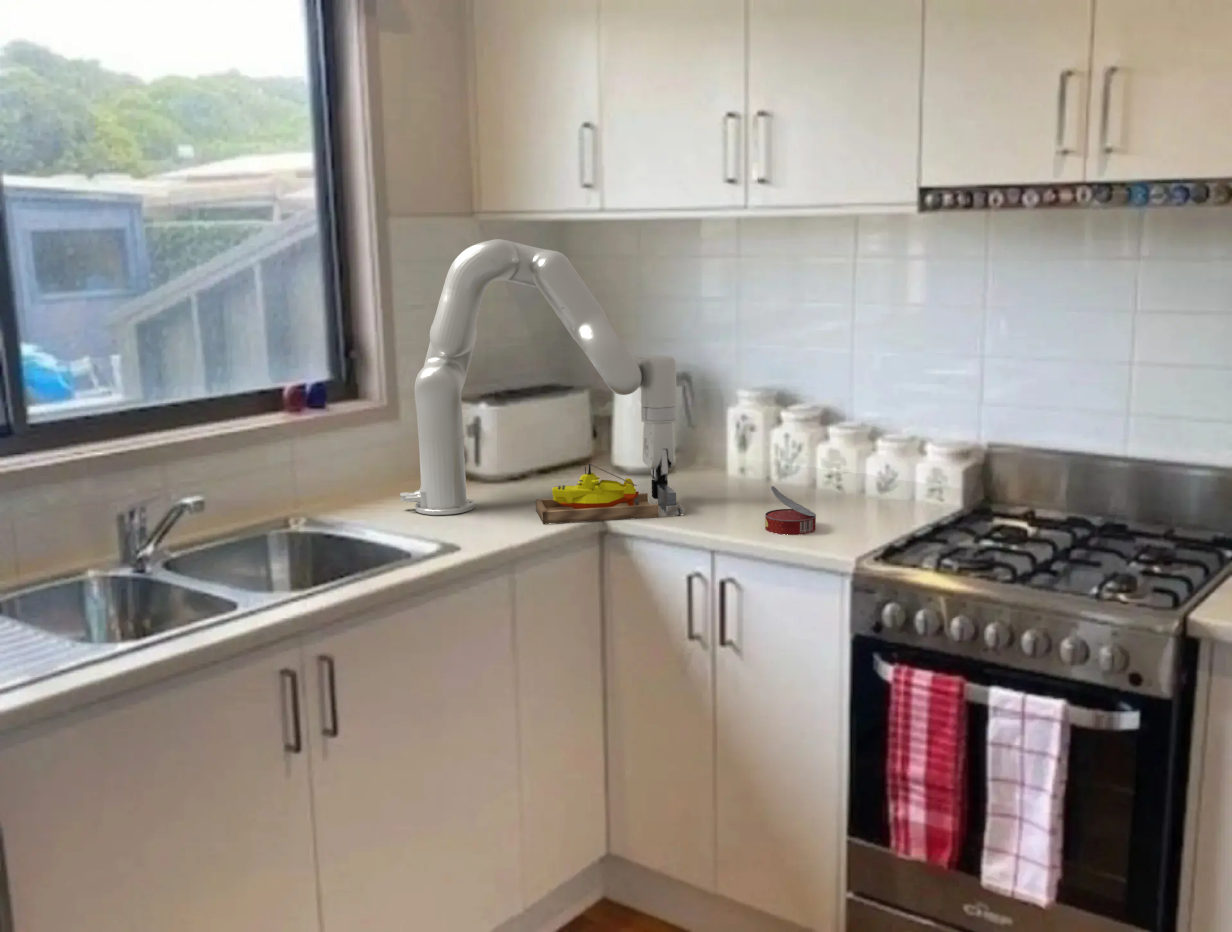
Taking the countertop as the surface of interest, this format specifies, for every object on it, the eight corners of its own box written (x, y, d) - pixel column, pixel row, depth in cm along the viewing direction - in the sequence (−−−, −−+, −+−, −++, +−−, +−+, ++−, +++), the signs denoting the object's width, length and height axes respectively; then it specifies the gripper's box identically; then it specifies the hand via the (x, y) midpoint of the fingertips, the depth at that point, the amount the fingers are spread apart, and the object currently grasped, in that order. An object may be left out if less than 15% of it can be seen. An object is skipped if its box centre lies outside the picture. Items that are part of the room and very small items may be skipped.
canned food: (780, 545, 243) (791, 498, 245) (822, 548, 236) (832, 499, 238) (747, 529, 236) (758, 480, 238) (788, 531, 228) (799, 481, 231)
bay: (543, 524, 245) (542, 512, 244) (531, 502, 265) (531, 491, 264) (684, 515, 250) (684, 503, 249) (663, 494, 270) (663, 483, 269)
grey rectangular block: (667, 514, 250) (666, 493, 250) (657, 504, 259) (657, 484, 258) (676, 513, 251) (676, 492, 250) (666, 504, 259) (666, 483, 259)
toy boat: (639, 512, 249) (638, 465, 248) (552, 514, 249) (550, 467, 247) (638, 505, 256) (637, 459, 254) (553, 507, 256) (551, 461, 254)
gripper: (634, 410, 264) (635, 491, 268) (649, 420, 250) (650, 506, 253) (667, 408, 266) (668, 489, 269) (684, 418, 251) (685, 504, 255)
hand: (659, 497), depth 261 cm, fingers closed
